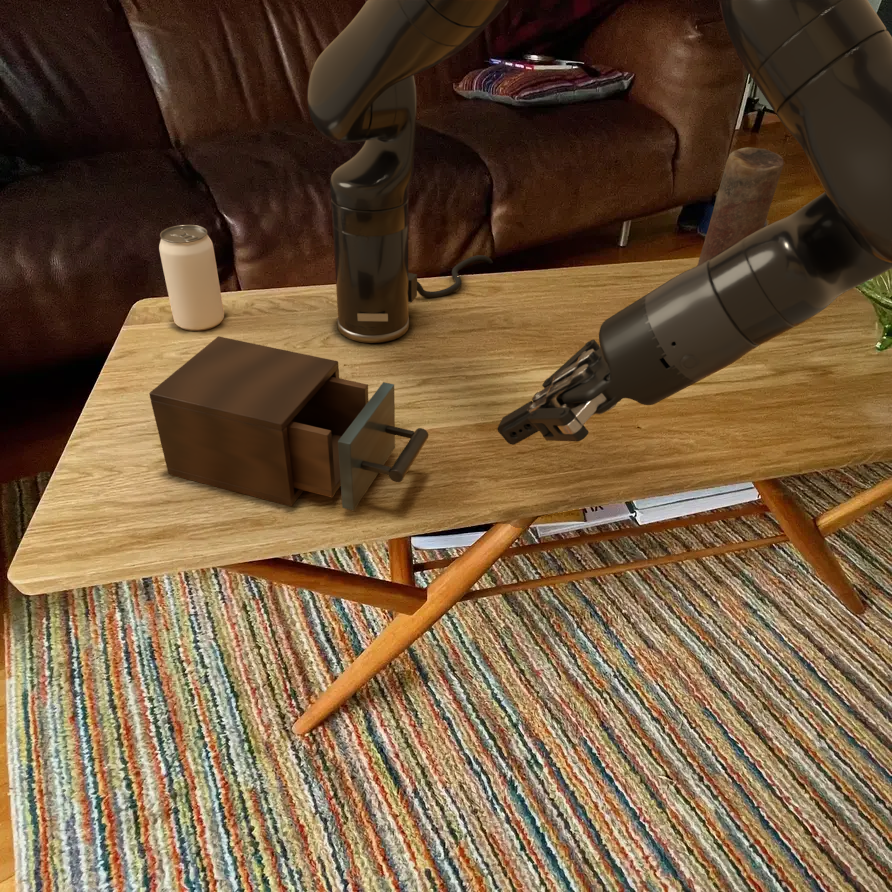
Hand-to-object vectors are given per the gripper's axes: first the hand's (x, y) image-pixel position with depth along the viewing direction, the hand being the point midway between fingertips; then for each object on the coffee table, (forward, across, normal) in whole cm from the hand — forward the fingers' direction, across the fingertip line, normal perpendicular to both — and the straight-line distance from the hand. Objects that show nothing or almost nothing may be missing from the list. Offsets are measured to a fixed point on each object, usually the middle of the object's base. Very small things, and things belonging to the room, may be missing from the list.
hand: (505, 432), depth 66 cm
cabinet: (+25, 0, -11) cm, 27 cm away
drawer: (+18, 0, -6) cm, 19 cm away
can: (+40, -23, -27) cm, 54 cm away
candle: (-6, -59, +19) cm, 62 cm away
